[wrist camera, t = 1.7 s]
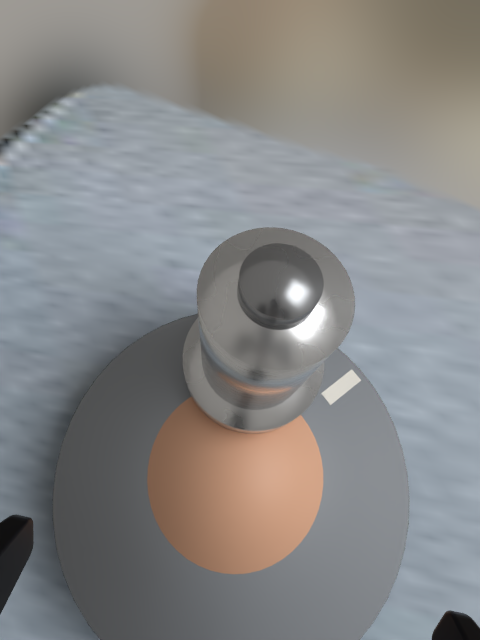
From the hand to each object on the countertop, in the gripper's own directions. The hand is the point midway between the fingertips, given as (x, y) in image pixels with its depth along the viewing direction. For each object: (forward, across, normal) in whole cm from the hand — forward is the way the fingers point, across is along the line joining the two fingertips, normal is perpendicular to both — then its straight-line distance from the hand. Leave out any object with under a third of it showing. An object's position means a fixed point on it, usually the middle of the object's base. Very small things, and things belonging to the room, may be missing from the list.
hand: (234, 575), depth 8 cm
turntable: (+11, 0, +7) cm, 13 cm away
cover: (+14, 0, +2) cm, 14 cm away
